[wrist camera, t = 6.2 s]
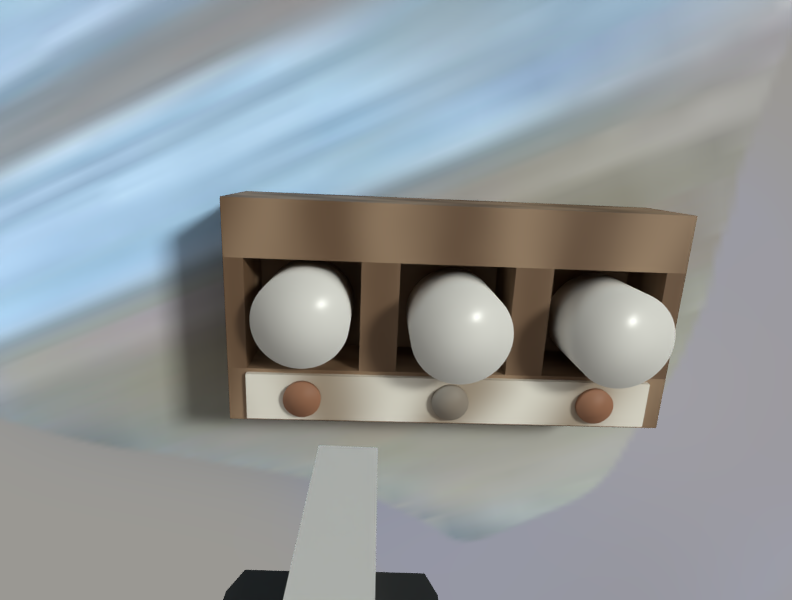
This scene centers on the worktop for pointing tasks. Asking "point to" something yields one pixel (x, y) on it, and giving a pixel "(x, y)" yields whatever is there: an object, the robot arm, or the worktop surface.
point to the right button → (611, 330)
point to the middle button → (458, 327)
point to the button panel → (413, 260)
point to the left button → (303, 314)
